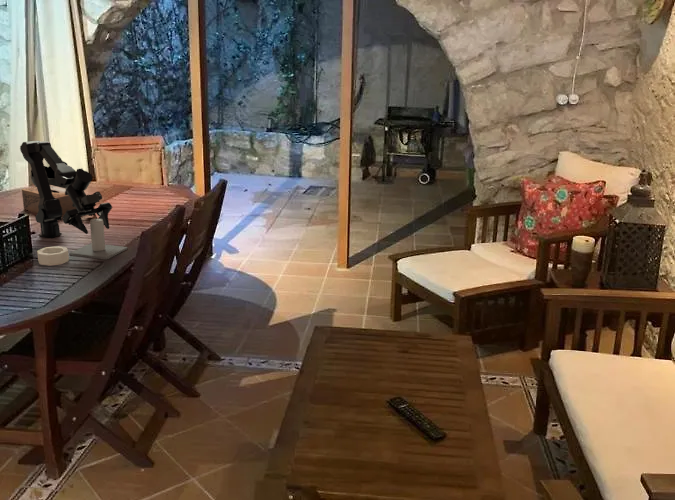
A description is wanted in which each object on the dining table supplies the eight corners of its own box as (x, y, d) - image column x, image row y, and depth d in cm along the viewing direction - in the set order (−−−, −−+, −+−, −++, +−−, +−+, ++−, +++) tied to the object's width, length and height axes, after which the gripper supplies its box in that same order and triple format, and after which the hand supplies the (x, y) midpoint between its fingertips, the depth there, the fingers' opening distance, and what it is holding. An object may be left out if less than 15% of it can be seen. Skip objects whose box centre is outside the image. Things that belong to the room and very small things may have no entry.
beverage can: (90, 249, 261) (88, 219, 258) (103, 247, 264) (101, 217, 260) (94, 252, 258) (91, 222, 254) (107, 250, 260) (104, 220, 257)
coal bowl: (82, 193, 353) (79, 157, 348) (48, 200, 337) (44, 162, 331) (58, 188, 363) (54, 153, 358) (24, 194, 347) (20, 158, 342)
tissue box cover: (84, 213, 316) (82, 192, 313) (57, 219, 304) (55, 197, 301) (51, 204, 330) (49, 184, 327) (24, 210, 318) (21, 189, 315)
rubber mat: (69, 254, 257) (69, 252, 256) (91, 244, 269) (91, 242, 269) (106, 259, 253) (106, 257, 252) (127, 249, 266) (127, 247, 265)
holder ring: (32, 263, 246) (31, 252, 245) (50, 255, 255) (49, 245, 254) (56, 266, 244) (55, 256, 242) (74, 258, 253) (73, 248, 252)
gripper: (63, 189, 248) (83, 223, 245) (107, 182, 263) (127, 214, 260) (54, 206, 255) (73, 240, 252) (97, 198, 269) (116, 230, 266)
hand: (98, 230), depth 257 cm, fingers open, 9 cm apart
